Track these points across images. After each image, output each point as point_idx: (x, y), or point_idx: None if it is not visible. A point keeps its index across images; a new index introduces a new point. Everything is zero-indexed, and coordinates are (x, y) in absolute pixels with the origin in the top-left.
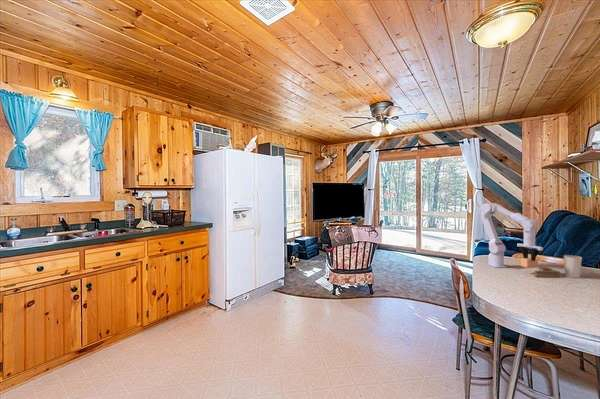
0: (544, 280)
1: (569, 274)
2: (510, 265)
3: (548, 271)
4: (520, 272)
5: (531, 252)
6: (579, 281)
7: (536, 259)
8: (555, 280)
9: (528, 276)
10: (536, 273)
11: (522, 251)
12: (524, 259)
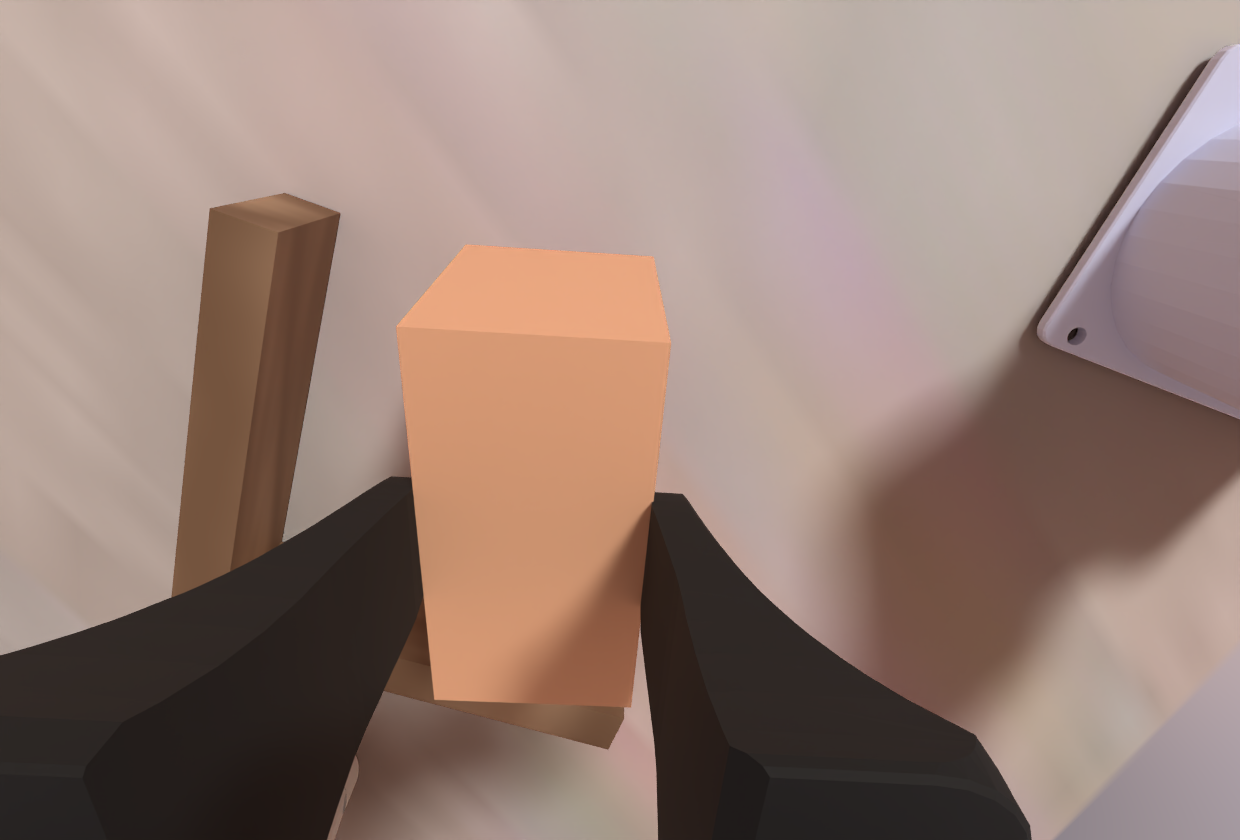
0: (47, 107)
1: None
2: (1085, 562)
3: (193, 468)
4: (667, 245)
5: (152, 645)
6: (15, 606)
7: (432, 665)
8: (56, 326)
9: (367, 82)
10: (239, 202)
11: (757, 652)
12: (526, 325)
